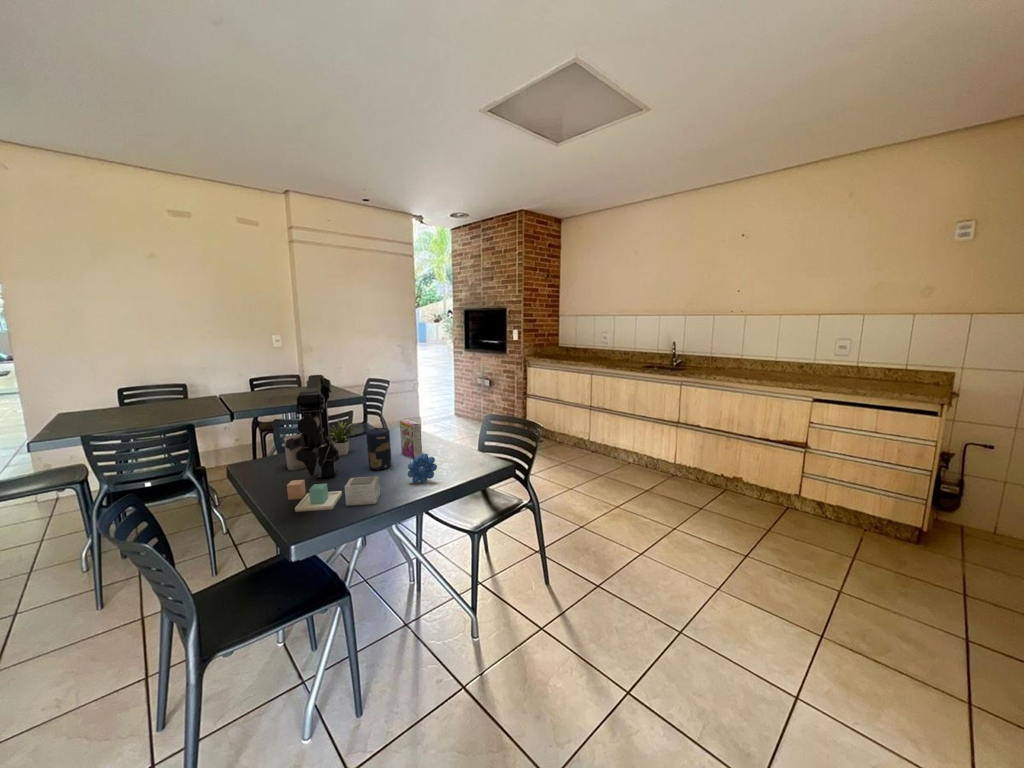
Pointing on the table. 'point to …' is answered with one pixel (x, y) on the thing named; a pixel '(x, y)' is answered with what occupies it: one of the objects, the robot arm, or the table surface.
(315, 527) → the table surface
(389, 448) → the canister
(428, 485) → the table surface
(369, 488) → the box
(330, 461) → the robot arm
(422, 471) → the blue knobby flower
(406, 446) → the candy bar box
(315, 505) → the tray
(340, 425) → the house plant
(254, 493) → the table surface
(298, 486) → the terracotta block
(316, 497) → the teal block
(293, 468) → the pillar candle
